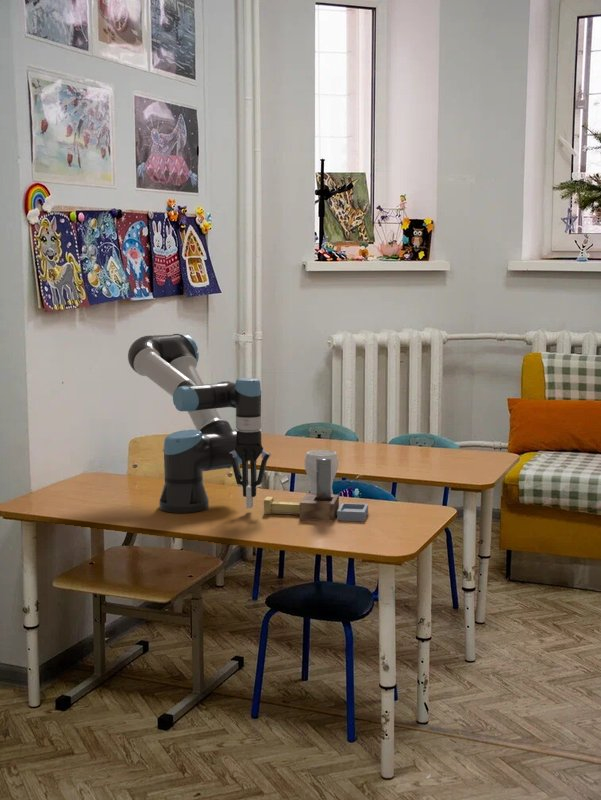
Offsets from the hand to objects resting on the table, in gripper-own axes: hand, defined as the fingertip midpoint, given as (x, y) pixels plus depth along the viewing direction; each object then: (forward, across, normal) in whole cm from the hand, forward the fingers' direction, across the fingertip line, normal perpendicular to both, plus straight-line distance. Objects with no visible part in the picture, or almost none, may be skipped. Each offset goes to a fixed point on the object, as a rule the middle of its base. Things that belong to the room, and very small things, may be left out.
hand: (249, 507), depth 302 cm
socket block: (+2, +21, 0) cm, 21 cm away
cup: (+2, +19, +20) cm, 28 cm away
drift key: (+2, +11, 0) cm, 11 cm away
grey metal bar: (+2, +22, 0) cm, 23 cm away
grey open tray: (+2, +31, 0) cm, 31 cm away
